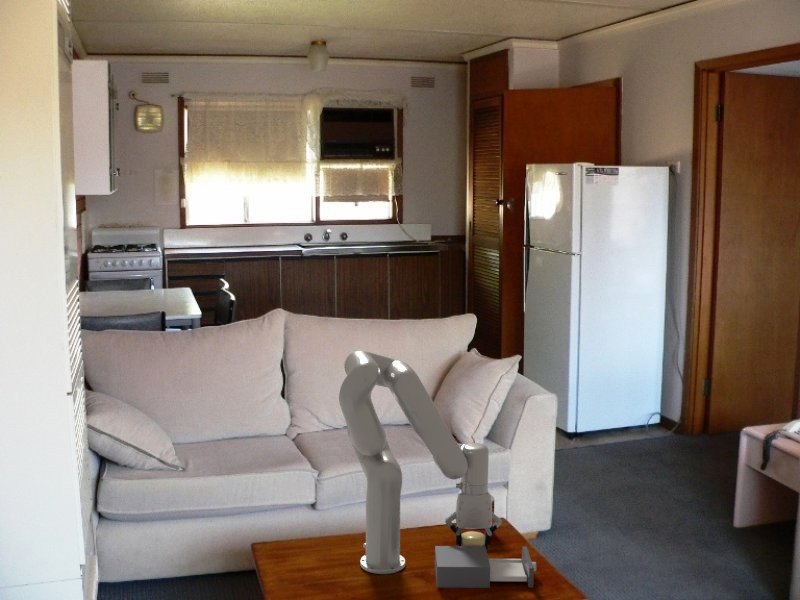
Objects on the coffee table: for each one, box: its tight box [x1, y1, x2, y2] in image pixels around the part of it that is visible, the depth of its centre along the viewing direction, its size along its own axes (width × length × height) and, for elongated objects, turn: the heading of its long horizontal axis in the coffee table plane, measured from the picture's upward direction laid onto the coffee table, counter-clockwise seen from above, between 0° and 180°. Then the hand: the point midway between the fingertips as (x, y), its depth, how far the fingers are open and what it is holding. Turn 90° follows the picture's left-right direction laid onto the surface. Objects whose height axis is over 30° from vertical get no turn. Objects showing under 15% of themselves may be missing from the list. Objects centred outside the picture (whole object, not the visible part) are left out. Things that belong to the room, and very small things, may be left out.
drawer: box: [488, 546, 537, 588], centre depth 253 cm, size 16×14×5 cm
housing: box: [434, 545, 491, 589], centre depth 253 cm, size 14×13×6 cm
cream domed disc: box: [461, 531, 486, 546], centre depth 265 cm, size 7×7×2 cm
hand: (473, 546), depth 265 cm, fingers closed on cream domed disc, 7 cm apart
